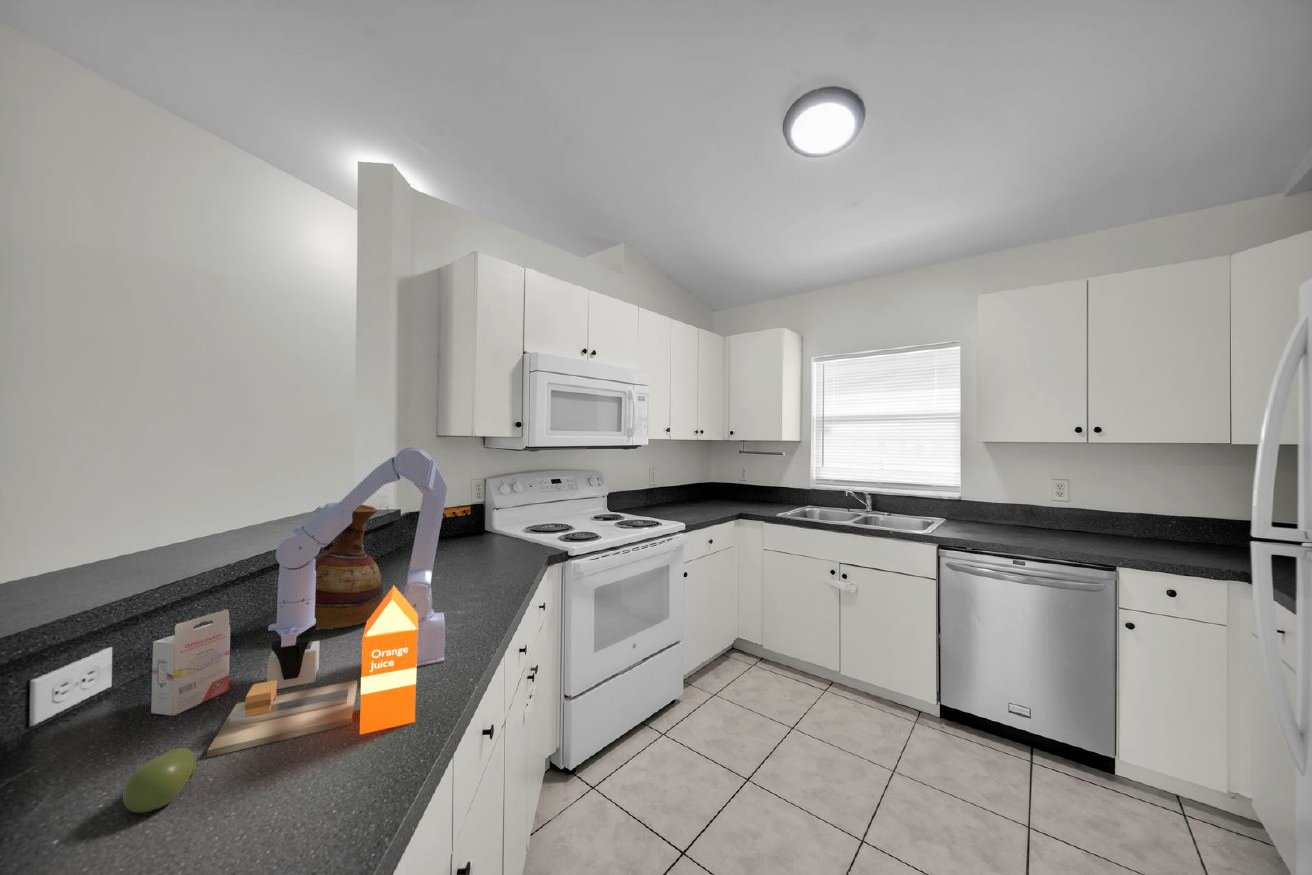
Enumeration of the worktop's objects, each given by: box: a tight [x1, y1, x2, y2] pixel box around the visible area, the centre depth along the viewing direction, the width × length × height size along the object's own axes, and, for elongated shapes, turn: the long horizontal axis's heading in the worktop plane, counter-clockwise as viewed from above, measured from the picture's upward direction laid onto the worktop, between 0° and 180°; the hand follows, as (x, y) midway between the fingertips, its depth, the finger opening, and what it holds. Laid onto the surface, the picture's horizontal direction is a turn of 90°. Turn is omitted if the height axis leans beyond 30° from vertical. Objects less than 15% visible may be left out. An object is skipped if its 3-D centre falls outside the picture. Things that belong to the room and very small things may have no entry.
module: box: [266, 640, 321, 690], centre depth 88 cm, size 7×5×6 cm
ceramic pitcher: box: [314, 504, 384, 630], centre depth 117 cm, size 20×20×30 cm
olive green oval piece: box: [122, 747, 197, 814], centre depth 59 cm, size 6×5×10 cm
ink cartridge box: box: [150, 609, 231, 717], centre depth 80 cm, size 9×5×15 cm, turn 168°
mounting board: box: [206, 679, 358, 758], centre depth 76 cm, size 17×14×1 cm
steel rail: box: [229, 689, 349, 728], centre depth 76 cm, size 15×3×1 cm, turn 119°
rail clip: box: [245, 680, 278, 717], centre depth 74 cm, size 3×4×3 cm, turn 29°
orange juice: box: [359, 584, 418, 735], centre depth 77 cm, size 8×9×20 cm
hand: (294, 671), depth 88 cm, fingers closed on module, 5 cm apart
